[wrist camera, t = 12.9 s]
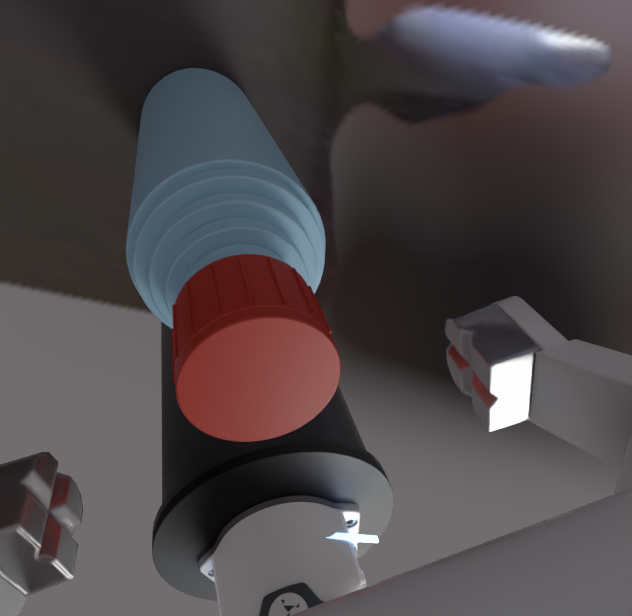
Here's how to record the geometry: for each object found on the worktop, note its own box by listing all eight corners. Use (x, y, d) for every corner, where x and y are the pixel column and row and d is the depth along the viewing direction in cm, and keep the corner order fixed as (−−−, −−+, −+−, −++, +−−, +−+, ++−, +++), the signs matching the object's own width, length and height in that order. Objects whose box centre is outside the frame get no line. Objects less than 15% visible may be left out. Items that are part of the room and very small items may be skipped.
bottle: (267, 166, 32) (395, 410, 14) (166, 195, 31) (174, 486, 14) (238, 54, 28) (366, 206, 11) (121, 85, 27) (55, 300, 10)
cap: (148, 278, 13) (145, 350, 10) (297, 233, 13) (326, 292, 11) (199, 385, 15) (207, 462, 13) (324, 344, 15) (353, 412, 13)
